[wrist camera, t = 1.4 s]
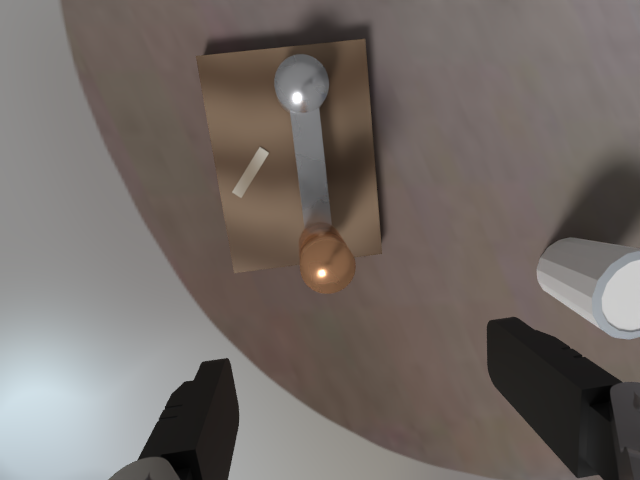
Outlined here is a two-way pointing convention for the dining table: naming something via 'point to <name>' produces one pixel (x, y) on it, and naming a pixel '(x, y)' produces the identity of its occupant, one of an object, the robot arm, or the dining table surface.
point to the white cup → (595, 282)
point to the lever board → (289, 152)
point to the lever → (313, 175)
